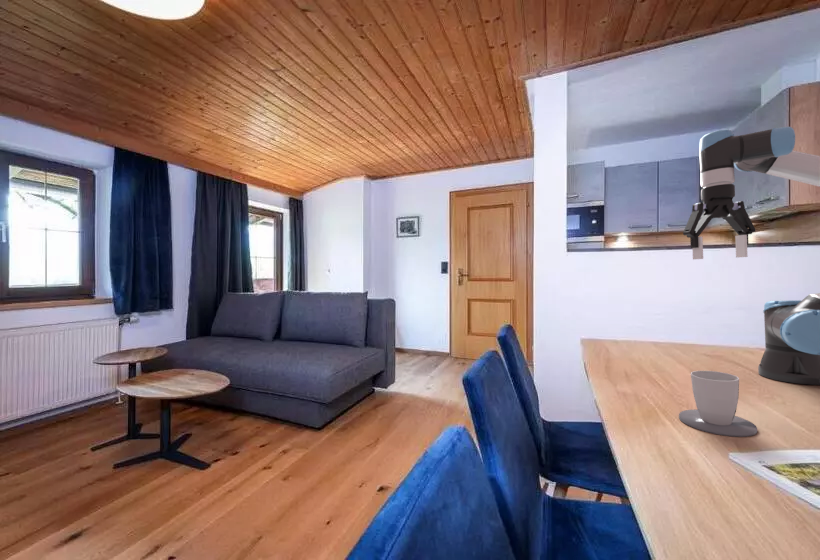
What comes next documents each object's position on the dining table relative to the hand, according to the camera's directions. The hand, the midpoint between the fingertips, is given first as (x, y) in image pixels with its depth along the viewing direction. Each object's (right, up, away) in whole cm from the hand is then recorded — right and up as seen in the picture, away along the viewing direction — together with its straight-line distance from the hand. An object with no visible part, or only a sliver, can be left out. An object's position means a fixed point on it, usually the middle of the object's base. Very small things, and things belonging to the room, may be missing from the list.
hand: (719, 258), depth 104 cm
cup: (-24, -38, -26) cm, 52 cm away
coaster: (-24, -38, -26) cm, 52 cm away
